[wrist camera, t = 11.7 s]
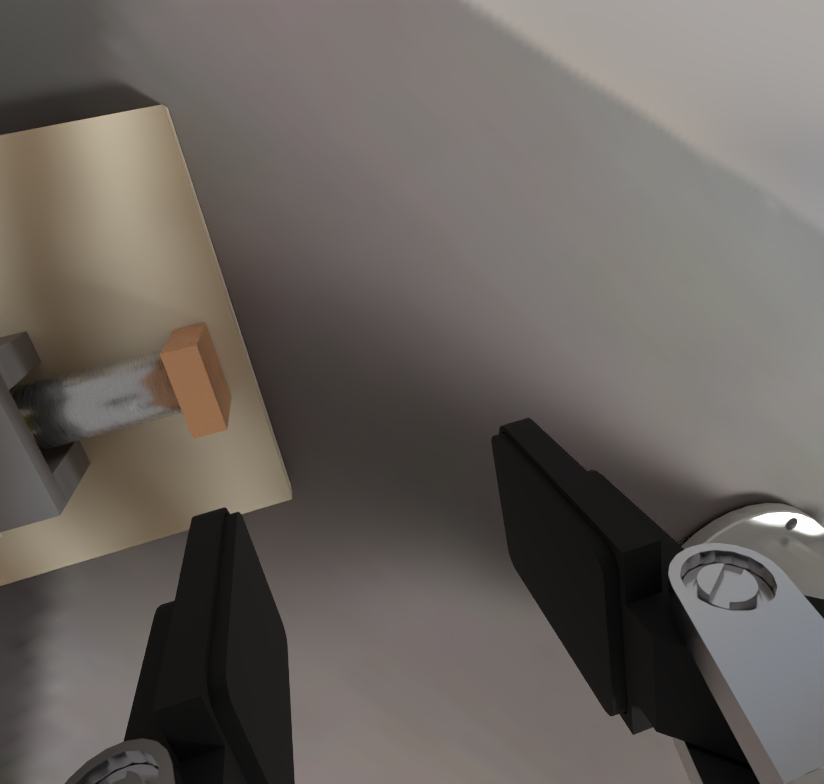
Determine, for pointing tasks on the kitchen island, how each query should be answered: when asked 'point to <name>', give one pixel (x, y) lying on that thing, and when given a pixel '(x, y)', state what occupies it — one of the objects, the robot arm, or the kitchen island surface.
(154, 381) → the lock pin
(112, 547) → the dock
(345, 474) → the kitchen island surface
